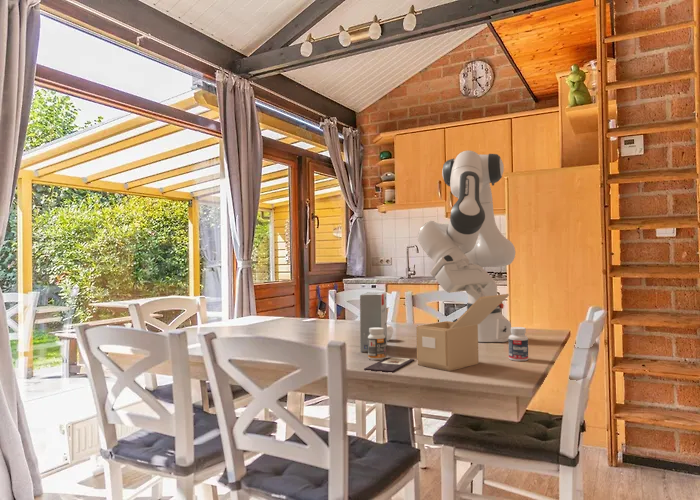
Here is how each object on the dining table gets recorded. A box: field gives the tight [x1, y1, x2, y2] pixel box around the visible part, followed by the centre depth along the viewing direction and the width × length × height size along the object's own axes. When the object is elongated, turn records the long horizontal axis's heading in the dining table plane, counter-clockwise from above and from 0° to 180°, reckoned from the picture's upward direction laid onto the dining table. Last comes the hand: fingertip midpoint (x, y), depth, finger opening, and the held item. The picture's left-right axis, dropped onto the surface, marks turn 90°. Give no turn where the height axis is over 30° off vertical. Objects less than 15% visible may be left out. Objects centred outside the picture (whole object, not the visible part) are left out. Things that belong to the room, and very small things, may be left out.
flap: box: [450, 293, 510, 329], centre depth 152 cm, size 14×1×14 cm
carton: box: [415, 320, 480, 372], centre depth 161 cm, size 15×12×12 cm
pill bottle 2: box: [508, 326, 529, 362], centre depth 166 cm, size 6×6×10 cm
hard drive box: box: [359, 291, 388, 353], centre depth 190 cm, size 16×8×20 cm, turn 168°
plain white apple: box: [387, 324, 394, 342], centre depth 207 cm, size 7×7×8 cm
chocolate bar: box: [363, 356, 415, 374], centre depth 161 cm, size 9×1×18 cm
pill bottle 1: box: [367, 327, 387, 361], centre depth 171 cm, size 6×6×10 cm
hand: (482, 299), depth 151 cm, fingers closed
